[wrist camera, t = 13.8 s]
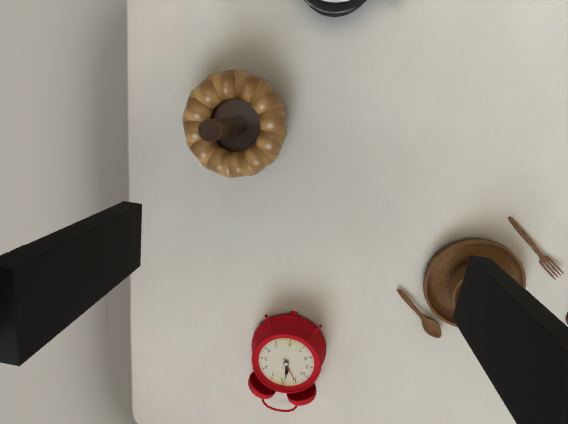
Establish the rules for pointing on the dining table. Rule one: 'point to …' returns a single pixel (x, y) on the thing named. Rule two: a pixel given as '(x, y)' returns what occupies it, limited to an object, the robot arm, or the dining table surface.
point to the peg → (231, 125)
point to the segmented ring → (262, 102)
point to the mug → (334, 6)
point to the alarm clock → (287, 359)
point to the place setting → (451, 268)
